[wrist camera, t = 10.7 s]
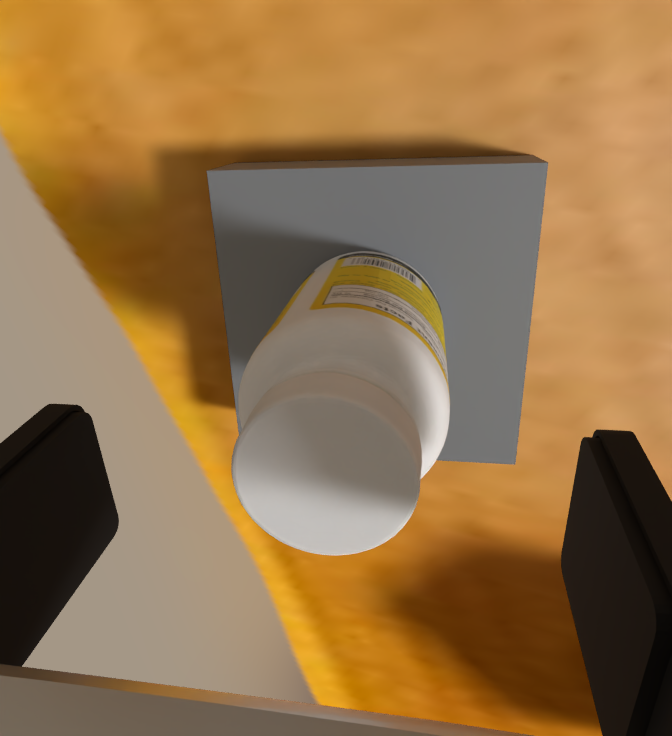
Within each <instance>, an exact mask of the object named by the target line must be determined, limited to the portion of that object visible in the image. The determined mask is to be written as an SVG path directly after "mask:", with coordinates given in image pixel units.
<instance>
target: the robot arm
mask: <svg viewBox="0 0 672 736" xmlns="http://www.w3.org/2000/svg"><path fill="white" fill-rule="evenodd" d="M118 523H119V519H118V514H117V510H116V506H115V503H114V499H113V495H112V491H111V488H110V484H109V480H108V476H107V473H106V469H105V466H104V462H103V458H102V454H101V451H100V447H99V443H98V440H97V435H96V432H95V428H94V425H93V421H92V418H91V416H90V415H89V414H88V413H86V412H84V410H83V408H82V407H81V406H78V405H68V404H49V405H47V406H45V407H44V408H43V409H41V410H40V411H39V412H38V413H36V415H34V416H33V417H32V418H31V419H29V420H28V421H27V422H26V423H24V424H23V425H22V426H21V427H20V428H18V429H17V430H16V431H15V432H14V433H12V434H11V435H10V436H9V437H8V438H6V439H5V440H4V441H3V442H2V443H0V736H533V735H526V734H520V733H513V732H507V731H500V730H493V729H487V728H480V727H474V726H467V725H461V724H454V723H448V722H441V721H433V720H426V719H419V718H411V717H404V716H396V715H389V714H382V713H374V712H367V711H359V710H352V709H345V708H337V707H330V706H323V705H315V704H307V703H300V702H293V701H285V700H278V699H270V698H263V697H255V696H247V695H240V694H232V693H224V692H217V691H208V690H201V689H194V688H186V687H178V686H171V685H163V684H155V683H147V682H139V681H132V680H124V679H116V678H108V677H101V676H93V675H85V674H77V673H68V672H60V671H52V670H44V669H36V668H28V667H22V665H23V664H24V662H25V661H26V660H27V658H28V657H29V656H30V654H31V653H32V651H33V650H34V648H35V647H36V646H37V644H38V643H39V641H40V640H41V638H42V637H43V636H44V634H45V633H46V632H47V630H48V629H49V627H50V626H51V625H52V623H53V622H54V620H55V619H56V618H57V616H58V615H59V613H60V612H61V610H62V609H63V608H64V606H65V605H66V603H67V602H68V601H69V599H70V598H71V596H72V595H73V594H74V592H75V590H76V589H77V588H78V587H79V585H80V584H81V582H82V581H83V580H84V578H85V576H86V575H87V574H88V573H89V571H90V570H91V568H92V567H93V565H94V564H95V563H96V561H97V560H98V558H99V557H100V555H101V554H102V553H103V551H104V550H105V548H106V547H107V546H108V544H109V543H110V541H111V540H112V539H113V537H114V536H115V534H116V532H117V529H118ZM561 567H562V574H563V578H564V582H565V586H566V590H567V594H568V598H569V602H570V606H571V610H572V614H573V618H574V622H575V626H576V630H577V634H578V638H579V642H580V646H581V650H582V654H583V658H584V662H585V666H586V670H587V674H588V678H589V682H590V686H591V690H592V694H593V698H594V702H595V706H596V711H597V715H598V719H599V723H600V727H601V731H602V735H603V736H672V501H671V500H670V498H669V496H668V494H667V492H666V491H665V489H664V487H663V485H662V483H661V481H660V480H659V478H658V476H657V474H656V472H655V471H654V469H653V467H652V465H651V463H650V461H649V460H648V458H647V456H646V454H645V452H644V451H643V449H642V447H641V445H640V443H639V442H638V440H637V438H636V436H635V435H634V433H633V432H631V431H617V430H596V431H595V432H594V434H593V437H592V438H590V437H584V438H583V439H582V441H581V445H580V451H579V457H578V462H577V468H576V474H575V479H574V485H573V491H572V496H571V502H570V508H569V514H568V519H567V525H566V531H565V536H564V542H563V548H562V555H561Z"/></svg>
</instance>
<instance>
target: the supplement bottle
mask: <svg viewBox="0 0 672 736" xmlns="http://www.w3.org/2000/svg"><path fill="white" fill-rule="evenodd" d="M238 410H239V418H240V423H241V427H242V431H241V433H240V435H239V436H238V438H237V441H236V444H235V447H234V451H233V455H232V478H233V482H234V486H235V490H236V492H237V495H238V497H239V500H240V502H241V504H242V505H243V507H244V508H245V510H246V511H247V513H248V514H249V515H250V517H251V518H252V519H253V520H254V521H255V522H256V523H257V524H258V525H259V526H260V527H261V528H262V529H263V530H265V531H266V532H267V533H268V534H270V535H271V536H273V537H274V538H276V539H277V540H279V541H281V542H283V543H285V544H287V545H289V546H292V547H294V548H297V549H300V550H303V551H306V552H310V553H315V554H322V555H348V554H354V553H360V552H363V551H366V550H369V549H372V548H375V547H377V546H379V545H381V544H383V543H384V542H386V541H388V540H389V539H391V538H392V537H393V536H395V535H396V534H397V533H398V532H399V531H400V530H401V529H402V528H403V527H404V525H405V524H406V523H407V521H408V520H409V518H410V517H411V515H412V513H413V511H414V509H415V507H416V504H417V501H418V497H419V492H420V479H421V478H422V477H423V476H424V475H425V474H426V473H427V472H428V471H429V470H430V468H431V467H432V466H433V464H434V463H435V461H436V460H437V458H438V456H439V454H440V452H441V450H442V448H443V446H444V443H445V439H446V436H447V432H448V427H449V416H450V396H449V385H448V374H447V361H446V349H445V338H444V327H443V319H442V314H441V308H440V306H439V303H438V300H437V298H436V295H435V293H434V292H433V290H432V288H431V287H430V285H429V284H428V282H427V281H426V280H425V278H424V277H423V276H422V275H421V274H420V273H419V272H418V271H417V270H415V269H414V268H413V267H412V266H410V265H409V264H407V263H406V262H404V261H402V260H400V259H398V258H396V257H393V256H390V255H387V254H383V253H378V252H371V251H359V252H351V253H346V254H343V255H339V256H337V257H334V258H332V259H330V260H328V261H326V262H325V263H323V264H322V265H320V266H319V267H318V268H316V269H315V270H314V271H313V272H312V273H311V274H310V275H309V276H308V277H307V278H306V279H305V280H304V282H303V283H302V284H301V286H300V287H299V288H298V289H297V291H296V292H295V294H294V295H293V297H292V298H291V300H290V301H289V302H288V304H287V305H286V307H285V308H284V309H283V311H282V312H281V314H280V315H279V317H278V318H277V319H276V321H275V322H274V324H273V325H272V327H271V328H270V329H269V331H268V332H267V334H266V335H265V336H264V338H263V339H262V341H261V342H260V343H259V345H258V346H257V348H256V349H255V351H254V353H253V354H252V356H251V358H250V360H249V362H248V364H247V366H246V368H245V371H244V373H243V376H242V379H241V383H240V388H239V396H238Z"/></svg>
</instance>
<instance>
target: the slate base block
mask: <svg viewBox="0 0 672 736" xmlns="http://www.w3.org/2000/svg"><path fill="white" fill-rule="evenodd" d="M547 168H548V162H546V161H544V160H542V159H540V158H538V157H536V156H534V155H515V156H477V157H438V158H400V159H362V160H323V161H285V162H247V163H232V164H229V165H225V166H222V167H218V168H215V169H211V170H208V171H207V178H208V186H209V194H210V202H211V210H212V218H213V227H214V235H215V243H216V251H217V259H218V267H219V276H220V284H221V292H222V300H223V308H224V316H225V325H226V333H227V341H228V349H229V357H230V365H231V373H232V382H233V390H234V398H235V406H236V414H237V422H238V431H239V435H240V433H241V431H242V427H241V423H240V418H239V410H238V396H239V388H240V383H241V379H242V376H243V373H244V371H245V368H246V366H247V364H248V362H249V360H250V358H251V356H252V354H253V353H254V351H255V349H256V348H257V346H258V345H259V343H260V342H261V341H262V339H263V338H264V336H265V335H266V334H267V332H268V331H269V329H270V328H271V327H272V325H273V324H274V322H275V321H276V319H277V318H278V317H279V315H280V314H281V312H282V311H283V309H284V308H285V307H286V305H287V304H288V302H289V301H290V300H291V298H292V297H293V295H294V294H295V292H296V291H297V289H298V288H299V287H300V286H301V284H302V283H303V282H304V280H305V279H306V278H307V277H308V276H309V275H310V274H311V273H312V272H313V271H314V270H315V269H316V268H318V267H319V266H320V265H322V264H323V263H325V262H326V261H328V260H330V259H332V258H334V257H337V256H339V255H343V254H346V253H351V252H359V251H371V252H378V253H383V254H387V255H390V256H393V257H396V258H398V259H400V260H402V261H404V262H406V263H407V264H409V265H410V266H412V267H413V268H414V269H415V270H417V271H418V272H419V273H420V274H421V275H422V276H423V277H424V278H425V280H426V281H427V282H428V284H429V285H430V287H431V288H432V290H433V292H434V293H435V295H436V298H437V300H438V303H439V306H440V308H441V314H442V319H443V327H444V338H445V349H446V361H447V374H448V385H449V396H450V416H449V427H448V432H447V436H446V439H445V443H444V446H443V448H442V450H441V452H440V454H439V456H438V458H437V460H442V461H460V462H479V463H497V464H515V462H516V453H517V444H518V435H519V425H520V416H521V407H522V398H523V389H524V379H525V370H526V361H527V352H528V343H529V334H530V324H531V315H532V306H533V297H534V288H535V278H536V269H537V260H538V251H539V242H540V232H541V223H542V214H543V205H544V196H545V187H546V177H547Z"/></svg>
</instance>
